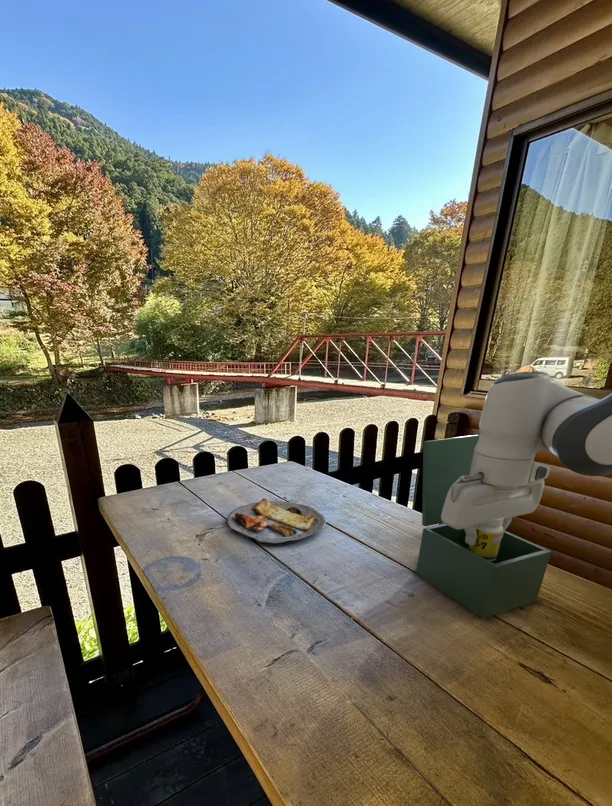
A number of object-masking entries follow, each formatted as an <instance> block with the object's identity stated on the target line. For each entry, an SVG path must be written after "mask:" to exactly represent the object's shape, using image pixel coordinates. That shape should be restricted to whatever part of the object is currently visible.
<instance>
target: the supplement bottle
mask: <svg viewBox="0 0 612 806" xmlns="http://www.w3.org/2000/svg"><path fill="white" fill-rule="evenodd" d="M503 520H504V517H502V518H498V519H494V520H493V521H492V522H490V523H485V524H481V525H479V529H477V530H476V533H477V535H478V536H480V540H479V544H477V545H473V546H471V545H469V547H468V550H469V551H471V552H473V553H475V554H477V555H479V556H481V557H483V558H484V559H486V560H488V561H490V562H491V561H494V560H495V559H496V557H497V554H498V550H499V546H500V542H501V538H502V534H503V527H502V524H503Z"/></svg>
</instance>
